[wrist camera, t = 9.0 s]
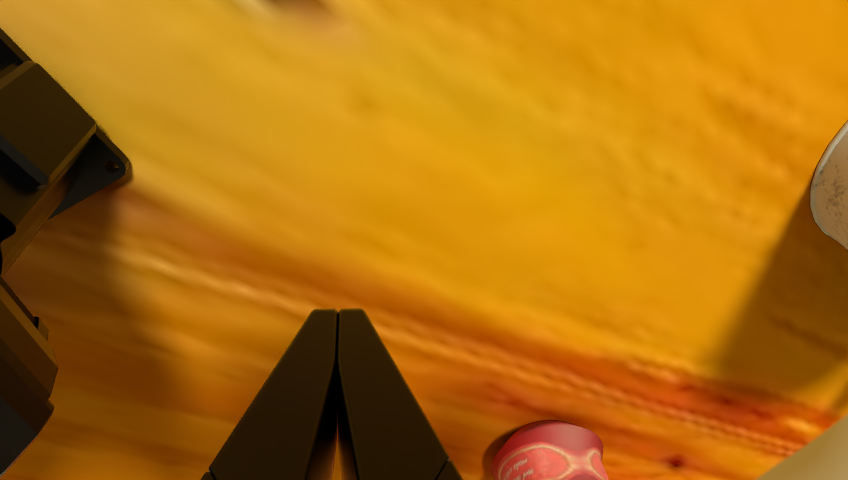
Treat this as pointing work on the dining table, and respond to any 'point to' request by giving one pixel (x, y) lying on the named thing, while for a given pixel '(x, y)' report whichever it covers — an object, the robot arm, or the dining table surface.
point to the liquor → (550, 454)
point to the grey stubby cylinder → (832, 189)
